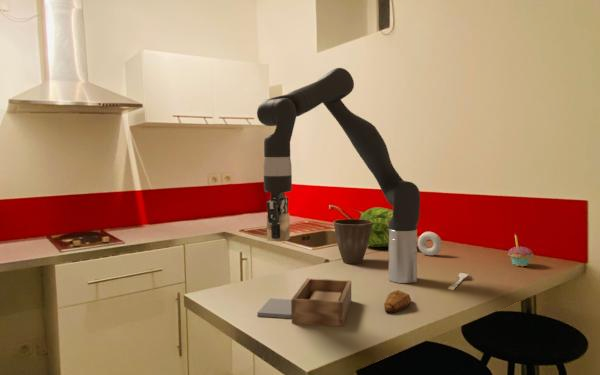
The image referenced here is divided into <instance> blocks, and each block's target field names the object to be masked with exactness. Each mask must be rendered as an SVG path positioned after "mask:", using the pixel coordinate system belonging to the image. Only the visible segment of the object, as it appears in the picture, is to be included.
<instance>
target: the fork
mask: <svg viewBox="0 0 600 375" xmlns="http://www.w3.org/2000/svg"><path fill="white" fill-rule="evenodd" d="M468 275H469V277H471V274H469V273H464V272H463V273H462V272H460V273H459V274H458V277H459V279H458V280H457V281H456V282H455V283H453V284H451V285H449V287H455V286H456V287H457V288H458V286H459V285H460V283H461V282H463V280H464V279H465V278H467V277H468ZM458 284H459V285H458ZM457 285H458V286H457Z"/></svg>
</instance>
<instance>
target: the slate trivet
mask: <svg viewBox="0 0 600 375" xmlns="http://www.w3.org/2000/svg"><path fill="white" fill-rule="evenodd" d="M256 313H257V317H266V318H277V319H278V318H280V319H281V318H282V319H292V311H291V299H287V298H286V299H285V298H269V299H268V300H267V302H265V303H264V305H262V307H260V308H259V310H258V311H257V312H256Z"/></svg>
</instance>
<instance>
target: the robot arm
mask: <svg viewBox="0 0 600 375" xmlns="http://www.w3.org/2000/svg"><path fill="white" fill-rule="evenodd" d="M354 87H355V83H354V78H353V77H352V74H351V73H350V72H349V71H348V70H347V69H345V68H344V67H337V68H336V67H335V68H334V69H331V70H330V71H329V72H327V73H326V74H324V75H323V76H321V77H320V78H318V79H317V80H316V81H315V82H312V83H310V84H307V85H305V86H302V87H300V88H297V89H294V90H292V91H290V92H288V93H286V94H283V95H278V96H275V97H271V98H268V99H264V100H263V101H261V103H260V104H259V105H258V108H257V110H256V116H257V119H258V121H259V122H260V124H261V125H264V126H267V127H275V129H274V132H273V133H272V134H269V135H266V136H265V138H264V142H263V149H264V150H263V153H264V154H263V157H264V158H263V159H264V161H263V190H264V192H266V193H270V199H269V200H268V201H266V210H267V211H266V212H267V215H268V223H270V224H272V225H271V231H272V238H273V239H279V238H280V216H282V215H283V213H289V199H290V198H289V196H286V193H290V192H291V191H292V190H293V180H292V178H293V176H292V175H293V174H292V172H293V171H292V161H291V160H292V158H291V140H292V136H293V133H294V127H295V123H296V120H297V117H300V116H302V115H304V114H307V113H308V112H310V111H312V110H314V109H315V108H317V107H318V106H320V105H322V104H323V105H324V106H325V108H326V109H327V110H328V112H329V113H330V114H331V115H332V117H333V118H334V119H335V120H336V122H337V123H338V125H339V126H340V127H341V129H342V130H343V132H344V133H345V135H346V136H347V138H348V139H349V141H350V143H351V144H352V146H353V147H354V149H355V151H356V152H357V154H358V155H359V157H360V158H361V160H362V161H363V163H364V164H365V165H366V167H367V168H368V169H369V171H370V172H371V173H372V175H373V176H374V178H375V180H376V181H377V184H378V186H379V188H380V190H381V191H382V193H383V195H384V198H385V199H386V202H388V204H390V205H391V206H392V210H393V216H392V219H390V220H389V246H388V271H387V272H388V273H387V274H388V281H390V282H393V283H399V284H410V283H411V284H412V283H417V282H418V250H417V249H418V239H417V238H418V234H417V233H418V224H419V221H420V213H421V212H420V211H421V209H420V207H421V193H420V189H419V188H418V186H417V185H416V184H415V183H413V182H412V181H406V180H404V179H403V178H402V177H401V176H400V174H399V173H398V172H397V170H396V168H395V167H394V165H393V163H392V161H391V157H390V154H389V151H388V147H387V144H386V142H385V140H384V139H383V137H382V135H381V134H380V132H379V130H378V128H377V127H376V126H375V125H374V124H373V123H371V122H369V120H366V119H364V118H362V117H360V116H359V115H357V114H355V113H353V112H352V111H351V110H349V108H348V107H347V106H346V105H345V103H344V102H343V100H342V99H344V98H346V97H347V96H349V95H350V93H351V92H353V90H354ZM273 216H275V219H273Z"/></svg>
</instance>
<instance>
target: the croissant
mask: <svg viewBox="0 0 600 375" xmlns="http://www.w3.org/2000/svg"><path fill="white" fill-rule="evenodd" d="M411 301H412V298H411V296H410V294H408V293H406V292H404V291H402V290H400V289H397V290H394V291H391V292H389V293H388V295H387V297H386V299H385V301H384V306H383V307H384V311H385V312H386V313H388V314H389V313H396V312H399V311H401V310H403V309H405V308H406V307H408V306H409V304H410V302H411Z"/></svg>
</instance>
